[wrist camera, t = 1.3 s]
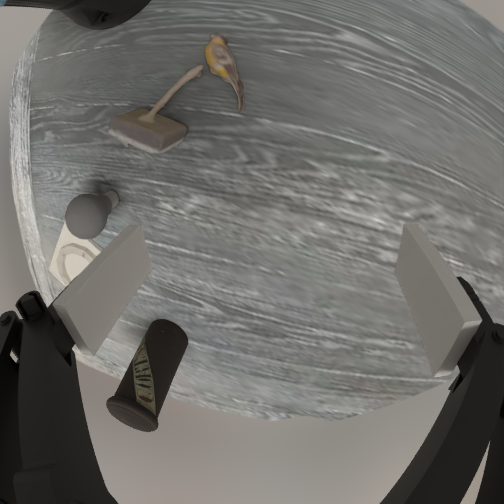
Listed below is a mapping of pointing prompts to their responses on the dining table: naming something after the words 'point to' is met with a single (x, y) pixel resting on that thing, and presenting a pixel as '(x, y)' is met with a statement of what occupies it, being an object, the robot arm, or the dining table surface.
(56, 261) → the socket
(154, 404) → the container
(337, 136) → the dining table surface
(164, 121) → the decorative sculpture
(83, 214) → the light bulb
